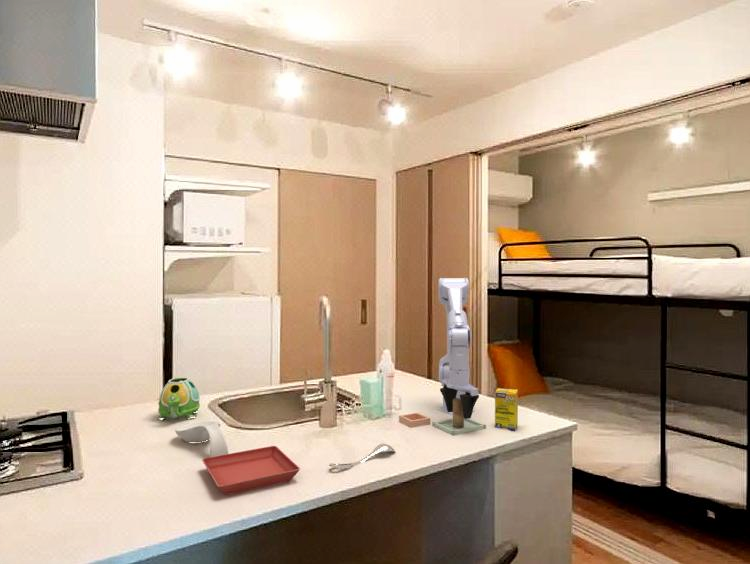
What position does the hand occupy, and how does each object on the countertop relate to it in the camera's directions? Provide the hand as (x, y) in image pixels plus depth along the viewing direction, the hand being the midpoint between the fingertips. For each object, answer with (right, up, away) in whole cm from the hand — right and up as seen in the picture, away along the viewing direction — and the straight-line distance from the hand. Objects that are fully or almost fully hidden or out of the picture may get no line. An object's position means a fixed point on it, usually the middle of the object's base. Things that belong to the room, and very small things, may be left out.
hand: (459, 414), depth 149 cm
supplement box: (+14, -4, +1) cm, 15 cm away
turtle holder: (-87, -4, +12) cm, 88 cm away
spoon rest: (-70, -5, -13) cm, 72 cm away
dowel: (0, -3, 0) cm, 3 cm away
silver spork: (-28, -5, -25) cm, 38 cm away
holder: (-13, -4, +4) cm, 14 cm away
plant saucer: (-53, -6, -34) cm, 63 cm away
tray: (0, -4, 0) cm, 4 cm away
